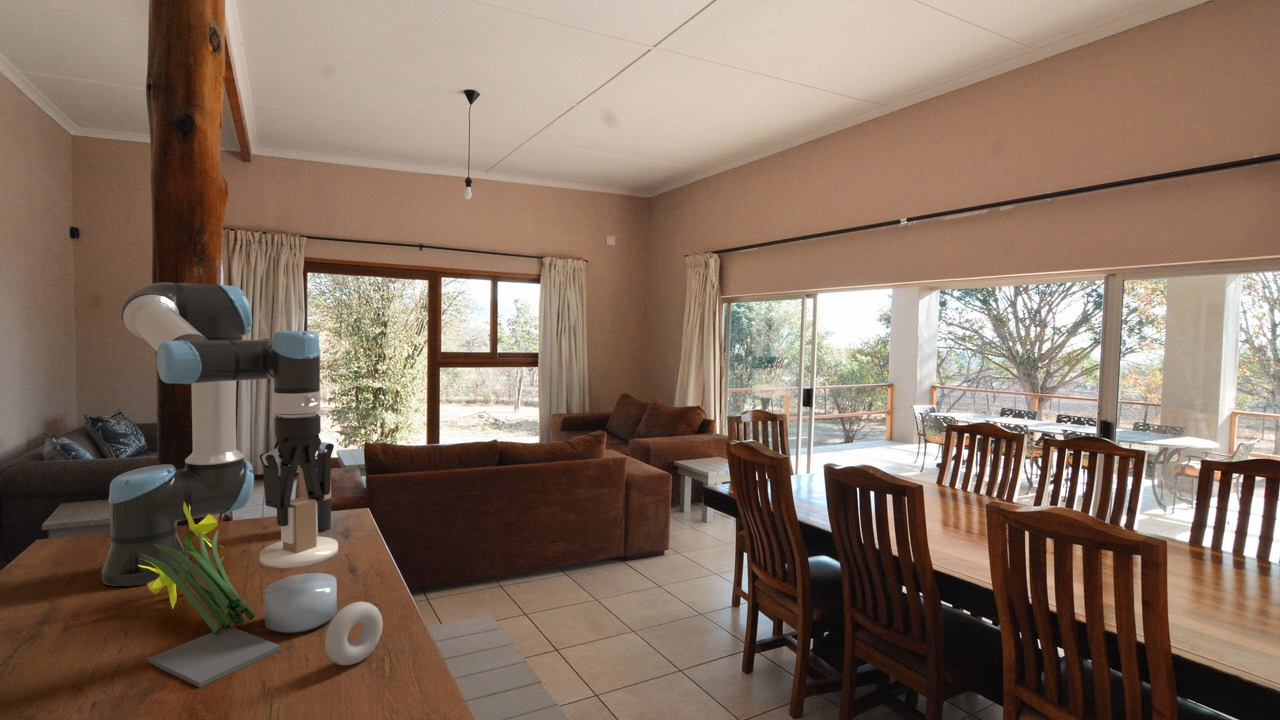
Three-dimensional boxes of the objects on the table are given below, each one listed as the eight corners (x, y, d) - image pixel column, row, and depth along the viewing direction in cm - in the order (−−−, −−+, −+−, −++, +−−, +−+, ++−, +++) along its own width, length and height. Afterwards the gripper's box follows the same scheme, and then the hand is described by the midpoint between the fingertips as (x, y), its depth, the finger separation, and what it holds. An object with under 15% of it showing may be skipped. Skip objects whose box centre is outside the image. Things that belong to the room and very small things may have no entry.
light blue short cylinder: (250, 627, 119) (249, 590, 119) (310, 602, 130) (309, 568, 129) (292, 643, 113) (291, 604, 113) (350, 615, 124) (350, 580, 124)
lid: (244, 559, 118) (243, 504, 118) (309, 538, 130) (308, 488, 129) (289, 573, 112) (288, 515, 112) (353, 550, 124) (352, 497, 123)
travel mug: (318, 535, 170) (317, 460, 169) (293, 533, 172) (292, 458, 171) (337, 526, 178) (336, 454, 177) (313, 524, 179) (312, 453, 178)
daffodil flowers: (162, 657, 108) (105, 561, 129) (240, 666, 120) (177, 576, 140) (227, 565, 113) (162, 486, 133) (297, 583, 124) (227, 507, 144)
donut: (374, 646, 113) (374, 590, 112) (387, 652, 111) (386, 595, 110) (320, 672, 104) (319, 612, 103) (333, 679, 102) (332, 617, 102)
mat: (148, 662, 106) (147, 658, 106) (229, 629, 118) (228, 625, 118) (199, 687, 100) (199, 682, 99) (280, 650, 111) (280, 645, 111)
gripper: (265, 422, 110) (267, 556, 112) (351, 410, 125) (352, 528, 127) (238, 418, 113) (241, 548, 115) (325, 407, 129) (327, 522, 130)
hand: (299, 537), depth 121 cm, fingers closed on lid, 4 cm apart
